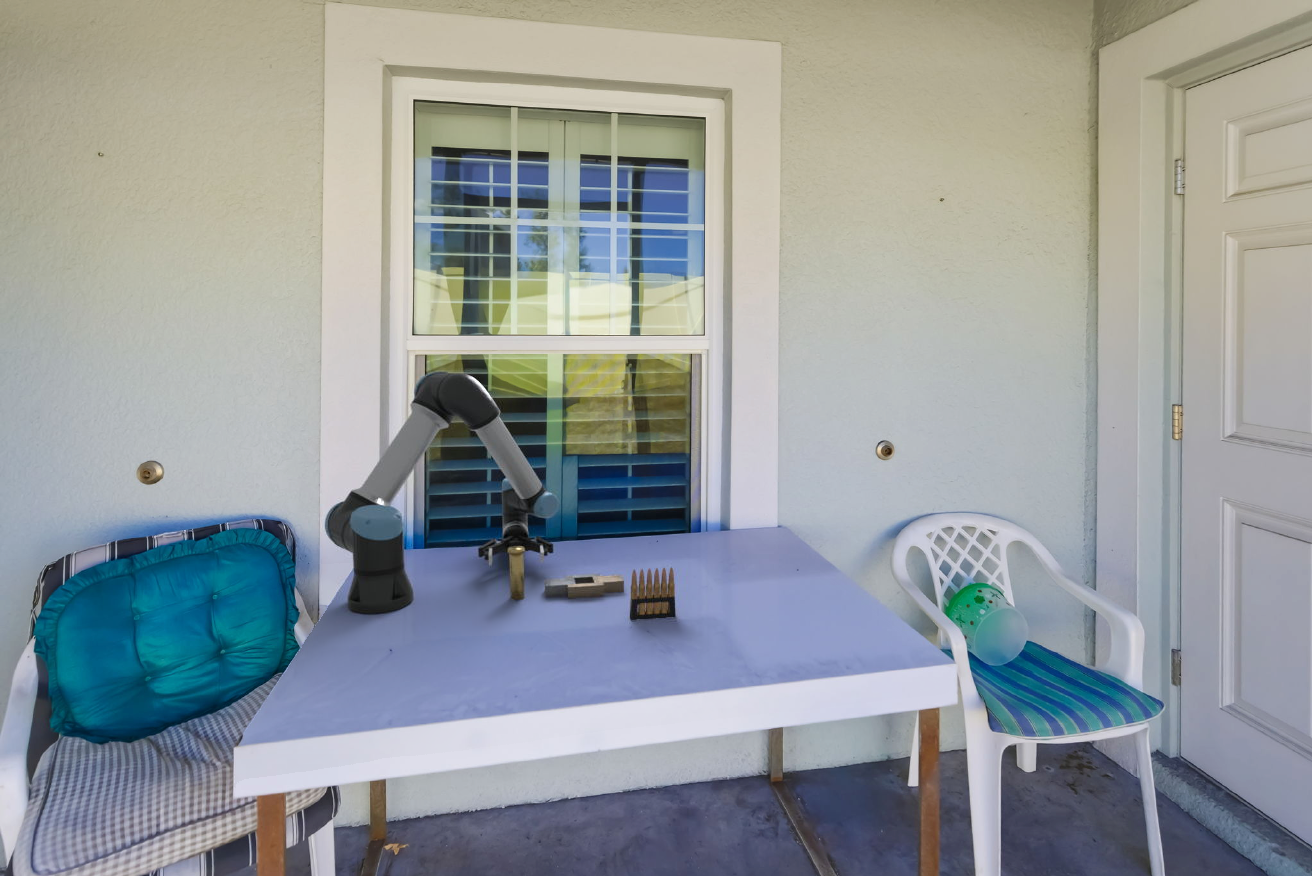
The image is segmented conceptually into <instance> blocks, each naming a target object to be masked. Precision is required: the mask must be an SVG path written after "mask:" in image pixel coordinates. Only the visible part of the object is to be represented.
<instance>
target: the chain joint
mask: <svg viewBox="0 0 1312 876" xmlns="http://www.w3.org/2000/svg"><path fill="white" fill-rule="evenodd" d="M615 592H617V593H625V580H624V578H623V577H622V575H621V574H615V575H612V574H611V575H601V574H600V573H589V574H587V573H586V574H575V575H565V578H563V577H562V578H554V579H553V578H552V579H551V578H550V579H544V595H545V598H557V597H567V598H568V600H570V599H582V598H586V599H587V598H597V597H598V598H599V597H604V596H605V594H612V593H613V594H615Z"/></svg>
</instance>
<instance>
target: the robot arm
mask: <svg viewBox="0 0 1312 876" xmlns="http://www.w3.org/2000/svg"><path fill="white" fill-rule="evenodd" d="M413 394H414V399H413V400H412V401H411V403H410V410H411V413H410V414H409V416H408V418H407V420H405V422H404V423H403V425H402V427H401V428H400V430H399V431H398V432H397V434H396V435H395V437H394V439H392V441H391V443H389V446H388V447H387V448H386V450H385V452H384V453H383V455H382V456H381V457H380V459H378V460H379V461H378V462H377V464H376V465H375V467H373V469H372V471H371V472H370V473H369V475H368V476H367V479H366V480H365V481H364V482H363V484H362V486H361V487H359V488H355V489H352V490H351V491H350V492H349V494H348V495H347V496H346V497H345V500H343V501H340V502H338V503H336V504H334V505H333V506H332V507H331V508H330V509H329V510H328V512H327V514H326V515H325V520H324V531H325V533H326V535H327V537H328V538H329V540H330V541H331V542H332V543H333V544H334V545H336V546H337V547H339V548H341V549H343V550H346V551H348V552H349V553H352V562H353V563H352V564H353V565H352V566H353V577H352V581H351V585H350V588H349V591H348V595H347V608H348V609H349V611H352V612H354V613H358V614H365V615H367V614H368V615H369V614H381V613H388V612H392V611H397V610H400V609H402V608H405V607H407V606H408V605H410V604H411V603H413V601H414V597H415V596H414V589H413V586H412V583H411V582H410V579H409V577H408V574H407V572H406V568H405V548H404V545H405V544H404V543H405V542H404V541H405V540H404V526H405V525H404V521H403V516H402V513H401V512H400V510H398V509H397V508H396V507H393V506H391V505H392V503H393V502H394V499H395V498H396V497H397V495H398V494H399V492H400V490H402V487H403V486H404V485H405V483H406V482H407V480H408V478H409V477H410V476H411V474H412V472H413V471H414V469H415V468H416V466H417V464H418V463H419V462H420V460H421V458H422V457H423V456H424V455H425V452H426V451H427V450H428V449H429V447H430V445H431V443H432V442H433V440H434V439H435V438H436V436H437V434H438V432H439V431H440V430H443V429H447V428H449V426H450V425H451V424H452V422H453V420H454V419H455V417H457V418H458V419H459V420H461V421H462V422H463V423H464V424H465V425H466V427H467V428H468V429H469V430H470V431H472V432H473V431H474V432H475V433H476V435H477V436H478V438H479V439H480V441H481V442H482V444H483V445H484V447H485V448H486V450H487V451H488V452H489V454H490V455H491V457H492V458H493V461H494V462H495V463H496V464H497V466H498V468H499V469H500V471H501V472H502V473H503V475H504V476H505V478H504V479H503V480H502V482H501V503H502V506H501V507H502V539H501V540H497V539H496V538H494V537H493V538H491V539H490V540H489V541H488V542H486V543H484V544H483V545H481V546H479V547H477V550H478V552H477V553H478V555H477V556H478V557H479V558H483V557H484V560H485V561H488V566H489V567H490V566H492V565H493V557H494V556H495V555H498V554H500V553H508V548H509V547H512V546H523V547H525V552H529V551H531V552H535V553H539V557H540V562H541V563H545V557H547V556H548V554H553V553H554V543H552V542H550V541H548V540H545V539H543V538H541V536H539V535H536V536H535V537H534V538H533V539H531V538H530V536H529V535H530V534H529V530H528V529H529V525H528V519H529V518H528V514H529V515H531V516H535V517H536V518H543V519H550V518H552V517H554V515H556V514H557V512H558V510H559V505H560V501H559V498H558V497H557V496H556V495H555V494H554V493H553V492H550V491H547V490H546V488H545V486H544V485H543V484H542V482H541V480H540V478H539V477H538V475H537V473H536V472H535V471H534V469H533V468H532V466H531V465H530V463H529V461H528V459H527V458H526V457H525V455H524V452H522V450H521V448H520V447H519V446H518V444H517V442H516V441H515V439H514V438H513V436H512V434H511V433H510V431H509V429H508V428H507V427H506V425H505V423H504V422H503V420H502V419H501V417H500V414H501V409H500V408H499V407H498V405H497V403H496V402H495V401H494V399H493V397H492V396H491V395H490V393H489V392H488V391H487V389H486V388H485V387H484V385H483V384H482V383H480V382H479V381H478V380H477V379H476V378H475V377H473V376H471V375H469V374H467V373H462V372H456V373H455V372H448V371H442V370H441V371H434V372H429V373H426V374H424V375H423V376H422V377H421V378H419V380H418V382H416V385H415V388H414V391H413Z"/></svg>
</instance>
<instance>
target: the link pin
mask: <svg viewBox="0 0 1312 876" xmlns="http://www.w3.org/2000/svg"><path fill="white" fill-rule="evenodd" d="M525 552H526V551H525V547H523V546H512V547H509V548H508V552H507V554H508V555H509V584H510V585H509V587H510V600H512V599H513V601H520V600H523V599H524V598H525V578H524V577H525V573H524V572H525V570H524V568H525V567H524V553H525Z"/></svg>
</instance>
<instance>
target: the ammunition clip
mask: <svg viewBox="0 0 1312 876" xmlns="http://www.w3.org/2000/svg"><path fill="white" fill-rule="evenodd" d="M668 573H669V574H668V579H667V570H666V568H665V567H663V568H662V572H661V579H660V573H659V569H658V568H657V567H656V568H655V570H654V575H652V571H651V568H650V567H649V568H648V570H647V575H646V583H645V572H644V570H643V568H641V569H640V572H639V575H638V574H637V571H636V570H635V569H634V568H633V570H632V573H631V586H630V604H629V605H630V607H629V620H631V621H638V620H637V619H644V620H653V619H654V618H655V619H654V620H656V618H659V619H667V618H666V617H674V618H676V617H677V614H676V612H677V611H676V597H675V596H676V592H675V590H676V589H675V586H676V584H675V576H674V575H675V574H674V569H673V567H672V566H671V567H670V568H669V572H668ZM637 575H638V576H639V578H638V577H637ZM653 577H654V579H653ZM638 579H639V580H638ZM667 580H668V581H667Z"/></svg>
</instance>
